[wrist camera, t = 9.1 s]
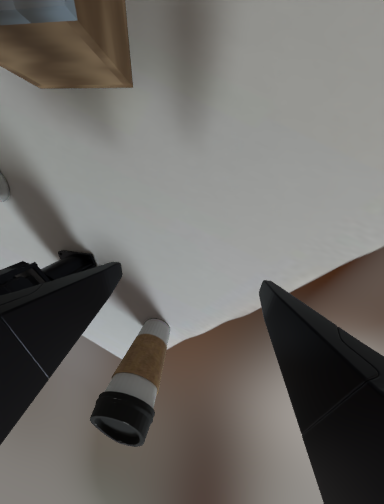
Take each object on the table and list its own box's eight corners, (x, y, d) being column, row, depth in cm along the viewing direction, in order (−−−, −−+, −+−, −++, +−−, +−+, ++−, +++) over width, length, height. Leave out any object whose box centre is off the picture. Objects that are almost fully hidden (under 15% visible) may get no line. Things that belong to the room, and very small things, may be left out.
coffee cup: (154, 343, 34) (115, 446, 21) (131, 320, 31) (70, 421, 18) (183, 335, 31) (160, 448, 18) (161, 309, 29) (115, 419, 15)
